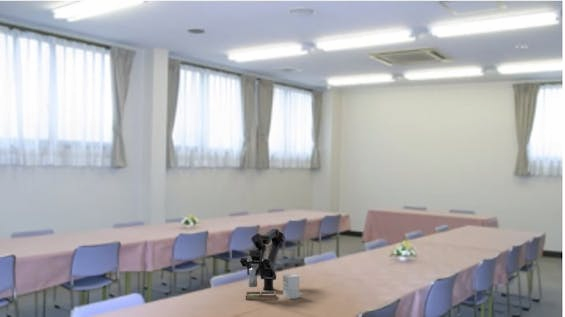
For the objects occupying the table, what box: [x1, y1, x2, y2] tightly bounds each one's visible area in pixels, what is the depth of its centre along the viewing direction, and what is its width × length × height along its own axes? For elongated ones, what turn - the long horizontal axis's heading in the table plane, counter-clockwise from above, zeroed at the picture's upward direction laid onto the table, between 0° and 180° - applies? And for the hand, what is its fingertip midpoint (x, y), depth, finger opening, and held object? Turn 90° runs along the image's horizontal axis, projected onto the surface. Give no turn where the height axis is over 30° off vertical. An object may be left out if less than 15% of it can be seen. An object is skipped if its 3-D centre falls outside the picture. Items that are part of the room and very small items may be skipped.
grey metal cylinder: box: [248, 267, 258, 288], centre depth 294 cm, size 5×5×10 cm
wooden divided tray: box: [245, 290, 277, 301], centre depth 294 cm, size 9×17×2 cm, turn 94°
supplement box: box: [282, 273, 300, 300], centre depth 296 cm, size 7×7×13 cm
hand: (251, 275), depth 293 cm, fingers closed on grey metal cylinder, 5 cm apart
